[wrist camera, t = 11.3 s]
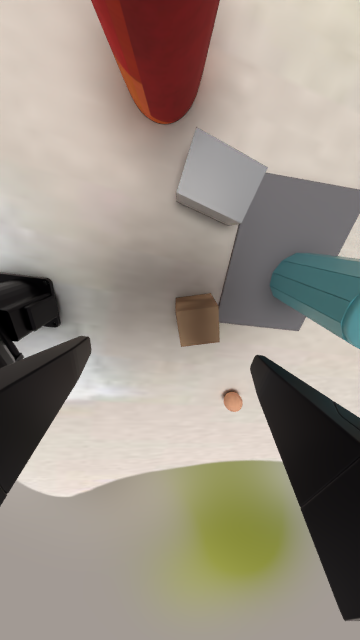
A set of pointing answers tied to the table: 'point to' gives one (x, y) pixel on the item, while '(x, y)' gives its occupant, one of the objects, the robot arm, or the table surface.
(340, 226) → the charcoal mat
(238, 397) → the terracotta ball
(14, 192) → the table surface
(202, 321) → the walnut block
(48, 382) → the robot arm
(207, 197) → the light grey box
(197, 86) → the coffee cup
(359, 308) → the teal cylinder
